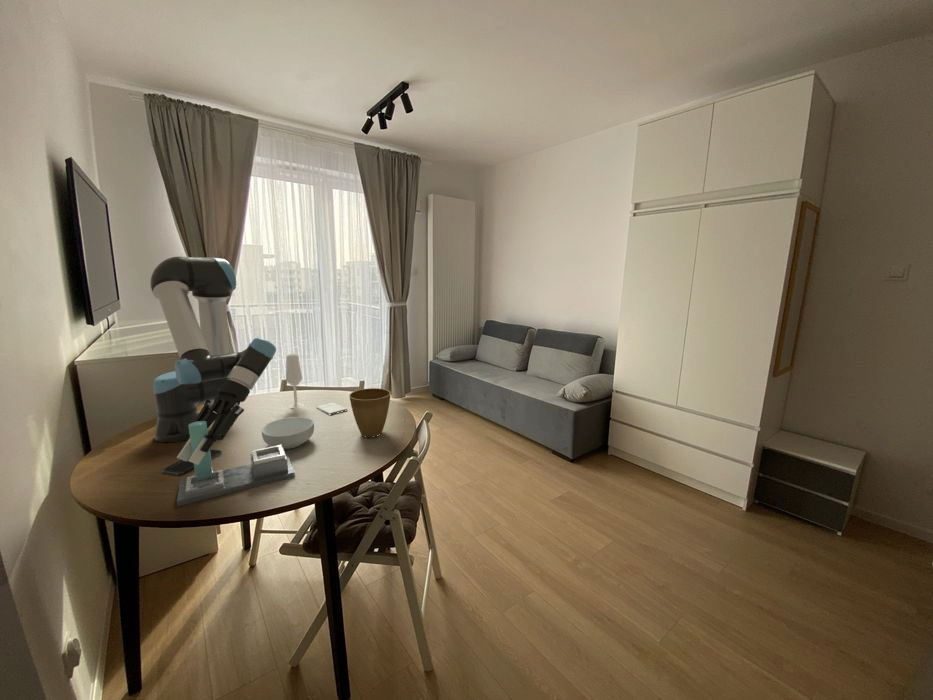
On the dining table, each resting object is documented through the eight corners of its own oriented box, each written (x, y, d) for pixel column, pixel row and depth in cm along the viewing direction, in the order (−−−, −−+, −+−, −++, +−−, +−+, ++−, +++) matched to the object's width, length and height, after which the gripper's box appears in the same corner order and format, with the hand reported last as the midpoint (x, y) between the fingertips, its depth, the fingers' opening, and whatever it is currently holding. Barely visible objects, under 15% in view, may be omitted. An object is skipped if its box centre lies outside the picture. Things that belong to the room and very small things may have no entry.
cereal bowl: (270, 436, 140) (268, 418, 139) (317, 432, 144) (316, 414, 143) (257, 457, 124) (255, 437, 123) (311, 452, 128) (310, 432, 127)
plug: (192, 476, 104) (184, 425, 101) (206, 470, 107) (200, 420, 104) (201, 479, 102) (194, 427, 99) (216, 472, 106) (209, 422, 103)
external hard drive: (329, 416, 162) (316, 409, 170) (347, 412, 167) (333, 405, 176) (329, 413, 161) (316, 406, 170) (347, 408, 167) (333, 401, 175)
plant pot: (399, 434, 144) (398, 393, 141) (364, 446, 133) (362, 402, 130) (378, 423, 154) (376, 385, 151) (344, 433, 144) (341, 392, 141)
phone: (160, 470, 114) (203, 448, 128) (161, 473, 114) (204, 451, 128) (182, 473, 112) (223, 450, 127) (183, 476, 112) (223, 453, 127)
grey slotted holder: (177, 506, 98) (173, 482, 96) (181, 484, 108) (177, 463, 106) (294, 476, 113) (293, 455, 111) (288, 460, 122) (286, 440, 121)
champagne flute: (301, 403, 176) (297, 352, 172) (306, 406, 171) (302, 355, 167) (286, 406, 172) (281, 354, 167) (290, 410, 167) (286, 357, 162)
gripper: (267, 394, 112) (220, 472, 100) (228, 387, 118) (178, 460, 106) (250, 381, 106) (197, 462, 94) (209, 375, 112) (154, 450, 100)
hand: (187, 461), depth 100 cm, fingers closed on plug, 4 cm apart
